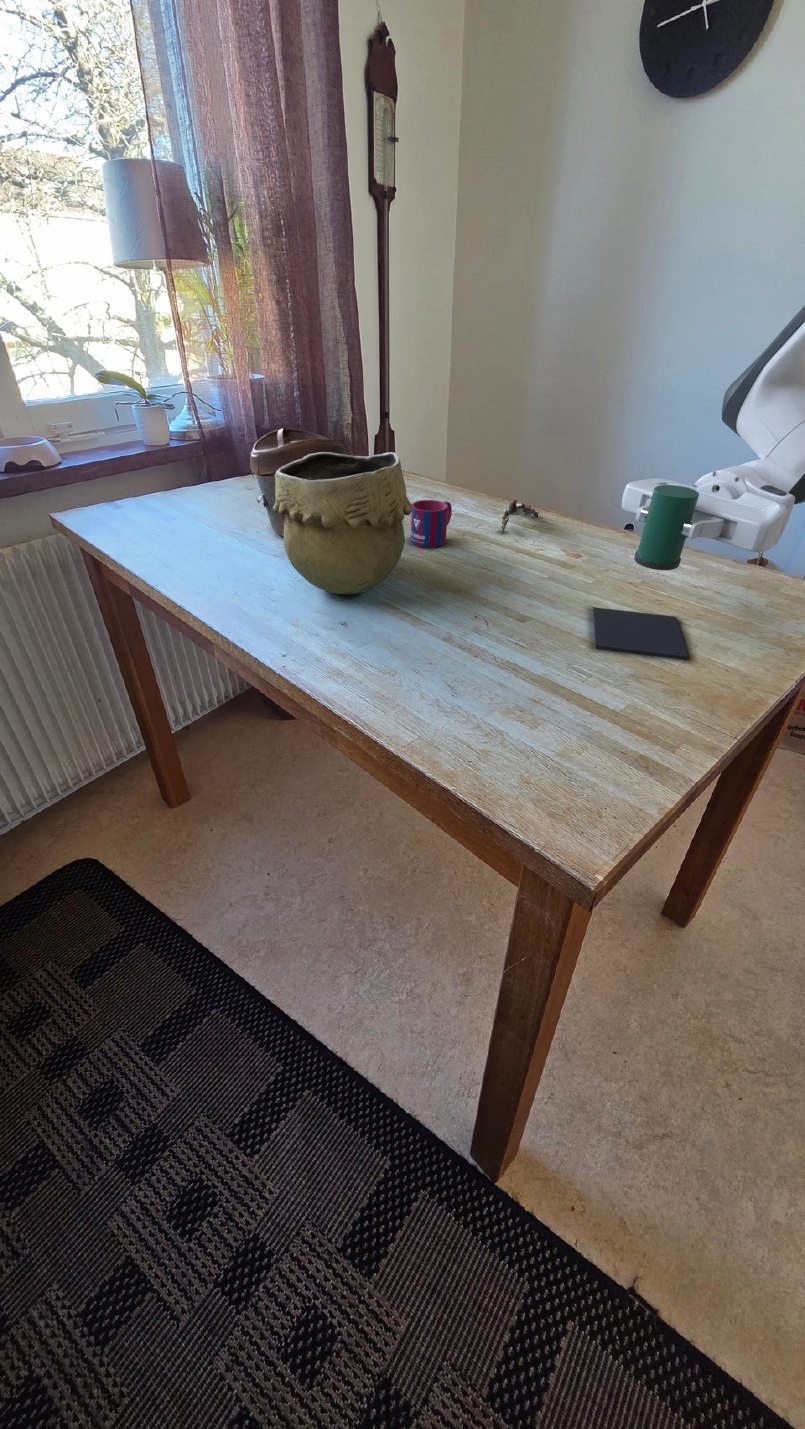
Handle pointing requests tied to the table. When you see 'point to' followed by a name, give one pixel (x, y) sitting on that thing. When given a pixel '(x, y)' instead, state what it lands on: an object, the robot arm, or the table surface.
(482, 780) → the table surface
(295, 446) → the brown planter
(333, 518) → the clay pot
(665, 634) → the mat
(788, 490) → the robot arm
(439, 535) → the mug
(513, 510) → the figurine
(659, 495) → the thermos cap
